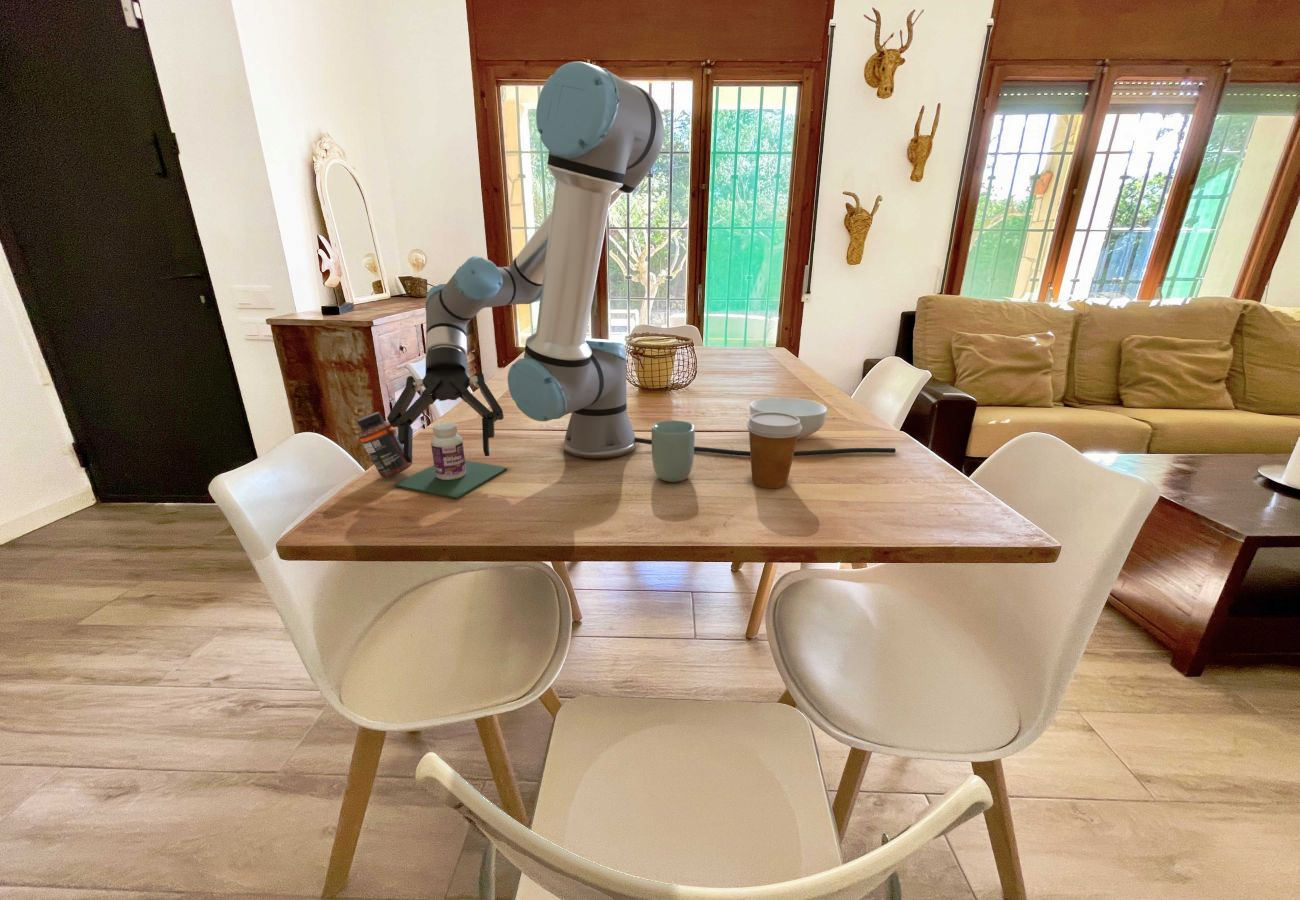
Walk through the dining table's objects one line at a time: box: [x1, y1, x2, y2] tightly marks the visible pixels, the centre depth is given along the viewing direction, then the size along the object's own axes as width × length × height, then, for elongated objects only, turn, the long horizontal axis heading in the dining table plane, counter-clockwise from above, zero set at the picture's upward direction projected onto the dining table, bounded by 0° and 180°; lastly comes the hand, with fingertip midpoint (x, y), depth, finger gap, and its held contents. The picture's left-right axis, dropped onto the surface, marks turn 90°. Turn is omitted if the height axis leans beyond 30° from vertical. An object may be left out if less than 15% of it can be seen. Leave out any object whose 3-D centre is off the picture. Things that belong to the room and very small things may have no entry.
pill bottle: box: [430, 422, 466, 480], centre depth 94 cm, size 5×5×10 cm
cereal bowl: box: [749, 396, 828, 440], centre depth 118 cm, size 17×17×7 cm
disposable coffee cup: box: [746, 412, 802, 489], centre depth 92 cm, size 10×10×12 cm
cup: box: [651, 419, 696, 483], centre depth 94 cm, size 8×8×10 cm
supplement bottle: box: [356, 411, 413, 478], centre depth 95 cm, size 6×6×11 cm
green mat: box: [393, 460, 508, 500], centre depth 96 cm, size 14×14×1 cm
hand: (447, 456), depth 92 cm, fingers open, 12 cm apart
